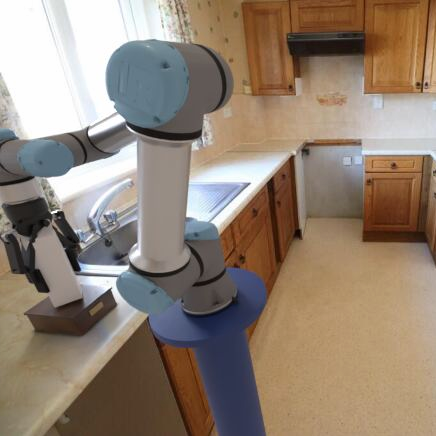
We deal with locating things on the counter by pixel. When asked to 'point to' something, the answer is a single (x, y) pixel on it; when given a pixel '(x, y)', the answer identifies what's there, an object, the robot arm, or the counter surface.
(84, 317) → the walnut box
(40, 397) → the counter surface
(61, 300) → the milk
